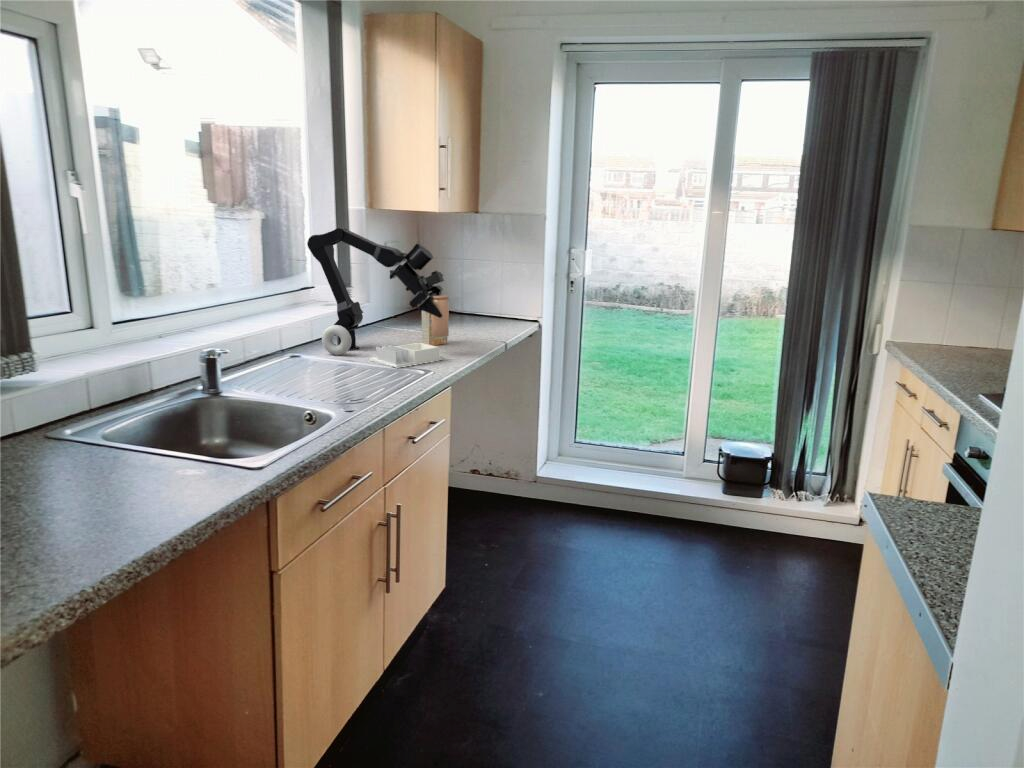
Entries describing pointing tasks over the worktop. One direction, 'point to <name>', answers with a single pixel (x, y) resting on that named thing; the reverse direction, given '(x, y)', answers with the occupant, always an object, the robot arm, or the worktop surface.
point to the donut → (343, 336)
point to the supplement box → (426, 331)
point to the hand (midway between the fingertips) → (444, 315)
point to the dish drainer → (407, 354)
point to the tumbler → (441, 324)
